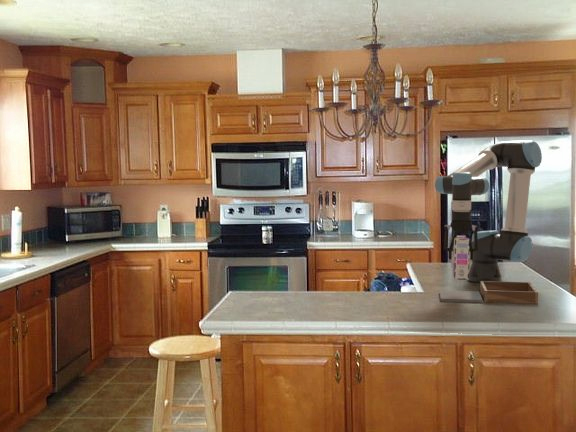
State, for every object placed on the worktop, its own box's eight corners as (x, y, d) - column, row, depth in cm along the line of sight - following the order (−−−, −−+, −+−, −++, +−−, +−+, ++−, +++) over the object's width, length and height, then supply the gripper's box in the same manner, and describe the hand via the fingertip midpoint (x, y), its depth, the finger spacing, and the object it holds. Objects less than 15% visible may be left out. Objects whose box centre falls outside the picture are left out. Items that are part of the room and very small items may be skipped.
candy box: (469, 280, 257) (469, 239, 256) (453, 279, 258) (454, 238, 257) (466, 274, 270) (467, 235, 269) (452, 273, 272) (452, 234, 270)
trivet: (439, 293, 275) (439, 290, 275) (479, 294, 271) (479, 291, 271) (440, 301, 259) (440, 298, 259) (482, 302, 256) (482, 299, 256)
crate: (480, 291, 277) (480, 281, 277) (529, 293, 273) (529, 282, 273) (484, 301, 258) (484, 290, 257) (537, 303, 253) (538, 292, 253)
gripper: (437, 211, 260) (437, 268, 262) (486, 211, 256) (485, 269, 258) (437, 209, 268) (436, 265, 270) (484, 210, 264) (483, 266, 266)
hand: (460, 267), depth 264 cm, fingers closed on candy box, 6 cm apart
